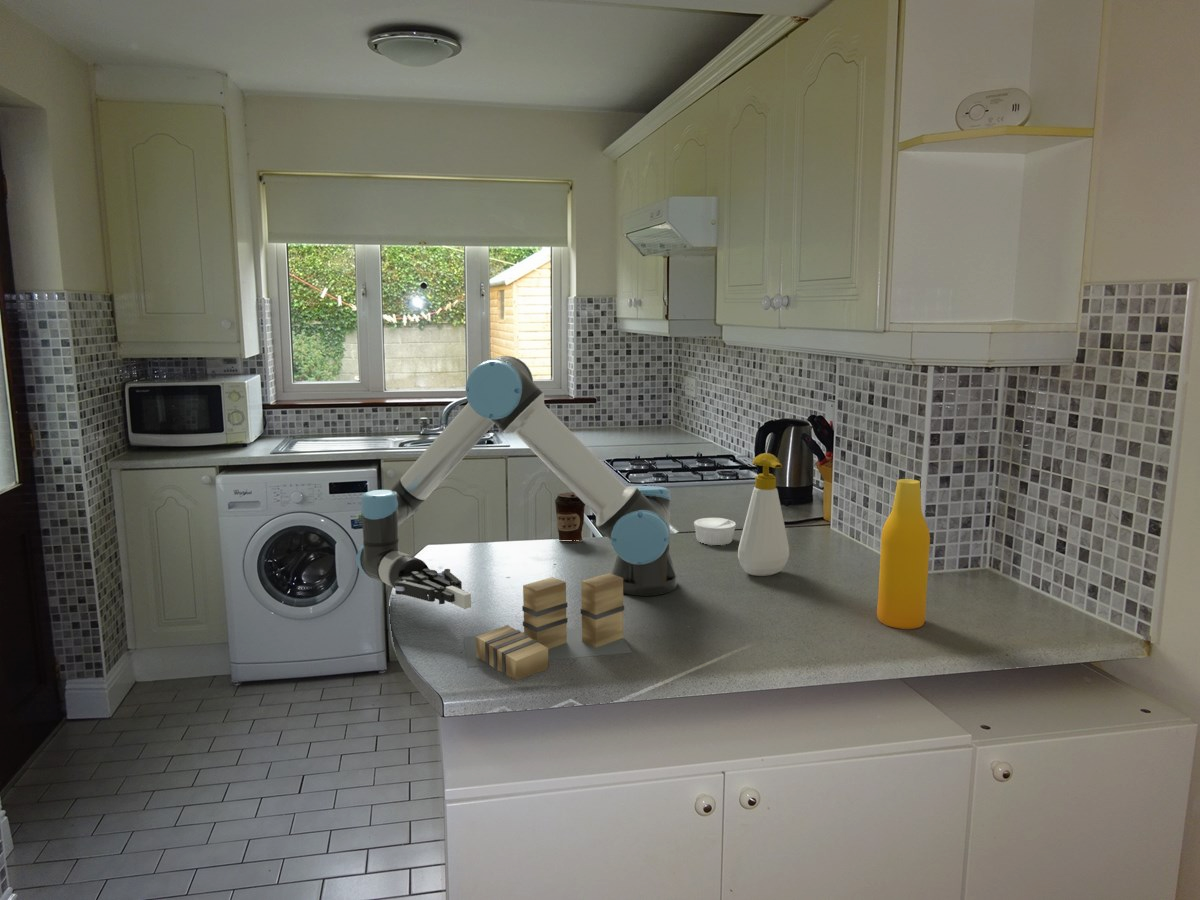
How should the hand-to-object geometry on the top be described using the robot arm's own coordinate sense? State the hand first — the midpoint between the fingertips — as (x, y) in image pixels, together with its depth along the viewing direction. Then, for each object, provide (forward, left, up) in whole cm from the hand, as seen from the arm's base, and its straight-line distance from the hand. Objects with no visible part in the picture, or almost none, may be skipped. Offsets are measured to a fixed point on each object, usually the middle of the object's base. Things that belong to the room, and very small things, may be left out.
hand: (467, 601), depth 161 cm
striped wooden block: (-4, +7, -5) cm, 10 cm away
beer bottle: (-86, +8, -8) cm, 87 cm away
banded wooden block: (-25, +5, -8) cm, 27 cm away
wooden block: (-14, +5, -8) cm, 17 cm away
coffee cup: (-31, -65, -8) cm, 72 cm away
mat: (-14, +5, -8) cm, 17 cm away
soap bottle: (-71, -26, -8) cm, 76 cm away
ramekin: (-69, -56, -8) cm, 89 cm away
